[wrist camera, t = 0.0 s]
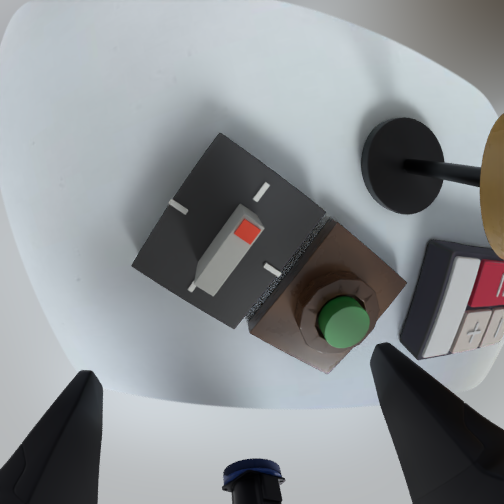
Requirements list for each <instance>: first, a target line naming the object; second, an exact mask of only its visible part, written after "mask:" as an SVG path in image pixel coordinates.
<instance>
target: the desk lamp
mask: <svg viewBox="0 0 504 504" xmlns="http://www.w3.org/2000/svg"><path fill="white" fill-rule="evenodd" d="M361 166H362V174H363V178H364V182H365V184H366V187H367V189H368V191H369V193H370V194H371V196H372V197H373V198H374V199H375V200H376V201H377V202H378V203H379V204H380V205H381V206H383V207H384V208H386V209H389V210H391V211H393V212H396V213H400V214H414V213H418V212H420V211H422V210H424V209H425V208H427V207H428V206H429V205H430V204H431V203H432V202H433V201H434V200H435V198H436V197H437V195H438V193H439V192H440V189H441V187H442V183H443V180H448V181H453V182H458V183H462V184H467V185H472V186H476V187H480V206H481V215H482V221H483V226H484V230H485V234H486V236H487V239H488V242H489V243H490V245H491V247H492V249H493V250H494V252H495V253H496V254H497V255H498V256H499V257H500V258H501V259H503V260H504V114H502V115H501V116H500V117H499V118H498V119H497V121H496V122H495V124H494V125H493V127H492V129H491V131H490V134H489V136H488V139H487V142H486V145H485V149H484V154H483V159H482V166H481V167H474V166H467V165H460V164H452V163H444V156H443V152H442V149H441V146H440V144H439V142H438V140H437V138H436V136H435V135H434V134H433V132H432V131H431V130H430V129H429V128H428V127H427V126H425V125H424V124H423V123H421V122H419V121H417V120H415V119H411V118H395V119H390V120H387V121H384V122H382V123H381V124H379V125H378V126H377V127H376V128H374V130H373V131H372V132H371V133H370V135H369V136H368V138H367V140H366V142H365V145H364V148H363V152H362V160H361Z"/></svg>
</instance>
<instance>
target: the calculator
mask: <svg viewBox="0 0 504 504" xmlns="http://www.w3.org/2000/svg"><path fill="white" fill-rule="evenodd" d="M503 334H504V260H503V259H501V258H500V257H499V256H498V255H497V254H496V253H495V252H494V250H493V249H488V248H481V247H474V246H467V245H462V244H458V243H454V242H447V241H440V240H430V241H429V243H428V247H427V251H426V255H425V259H424V263H423V267H422V270H421V274H420V278H419V281H418V285H417V288H416V292H415V295H414V298H413V301H412V304H411V308H410V311H409V314H408V317H407V320H406V323H405V326H404V328H403V331H402V334H401V337H400V342H401V343H402V344H403V345H404V346H405V348H406V349H407V350H408V351H409V352H410V353H411V354H412V355H413V356H414V357H415V358H416V359H417V360H422V359H427V358H433V357H439V356H444V355H449V354H454V353H459V352H464V351H468V350H473V349H477V348H481V347H485V346H489V345H493V344H497V343H499V342H500V341H501V339H502V336H503Z"/></svg>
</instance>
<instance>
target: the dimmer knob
mask: <svg viewBox="0 0 504 504" xmlns="http://www.w3.org/2000/svg"><path fill="white" fill-rule="evenodd" d="M263 230H264V226H263V225H262V223H261V221H260V220H259V218H258V216H257V215H256V214H255V213H253V212H252V211H251V210H249V209H248V208H246V207H245V206H244V205H242V204H239V205H238V207H237V208H236V209H235V211H234V212H233V214H232V215H231V216H230V218H229V219H228V221H227V222H226V223H225V225H224V226H223V227H222V229H221V230H220V232H219V233H218V234H217V236H216V237H215V239H214V240H213V241H212V243H211V244H210V246H209V247H208V249H207V250H206V251H205V253H204V254H203V256H202V257H201V258H200V260H199V261H198V264H197V270H196V275H195V280H194V285H196V286H197V287H199V288H200V289H202V290H204V291H205V292H207V293H208V294H210V295H212V296H214V295H215V294H216V293H217V291H218V290H219V289H220V287H221V286H222V285H223V283H224V282H225V281H226V279H227V278H228V277H229V275H230V274H231V273H232V271H233V270H234V269H235V267H236V266H237V265H238V263H239V262H240V261H241V259H242V258H243V257H244V255H245V254H246V253H247V251H248V250H249V249H250V247H251V246H252V245H253V243H254V242H255V241H256V239H257V238H258V236H259V235H260V234H261V232H262V231H263Z"/></svg>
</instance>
